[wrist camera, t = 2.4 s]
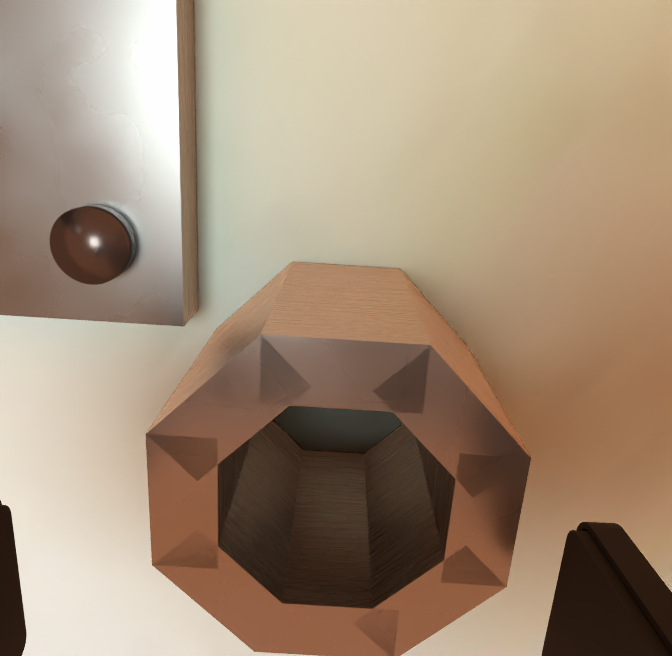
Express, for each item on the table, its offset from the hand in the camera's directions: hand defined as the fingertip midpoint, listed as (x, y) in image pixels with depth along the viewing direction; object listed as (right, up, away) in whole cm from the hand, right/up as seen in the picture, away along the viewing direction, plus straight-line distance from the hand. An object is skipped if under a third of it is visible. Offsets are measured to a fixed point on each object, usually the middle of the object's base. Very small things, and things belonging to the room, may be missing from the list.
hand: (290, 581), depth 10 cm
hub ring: (+1, +3, +7) cm, 7 cm away
